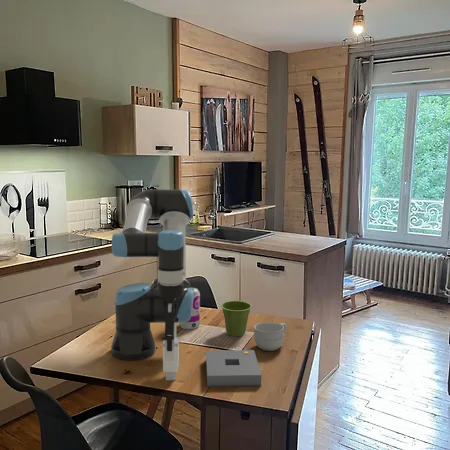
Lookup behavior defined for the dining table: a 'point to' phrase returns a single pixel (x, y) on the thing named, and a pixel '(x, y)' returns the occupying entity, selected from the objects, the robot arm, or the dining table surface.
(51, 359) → the dining table surface
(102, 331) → the dining table surface
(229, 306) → the plant pot
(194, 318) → the supplement can
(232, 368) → the plate
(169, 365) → the plug
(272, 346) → the teacup
